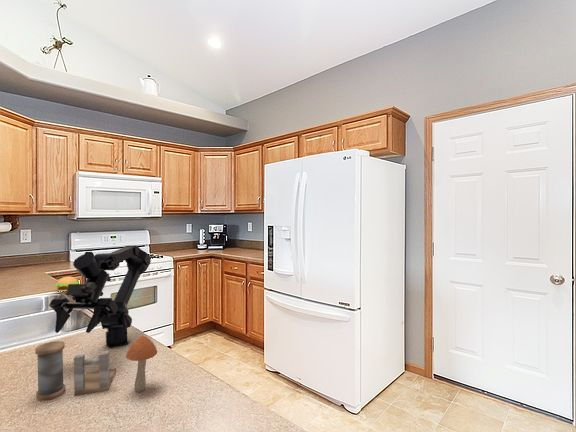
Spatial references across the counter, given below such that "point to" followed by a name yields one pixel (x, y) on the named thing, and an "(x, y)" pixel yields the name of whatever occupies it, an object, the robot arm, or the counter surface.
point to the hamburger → (65, 283)
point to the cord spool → (50, 370)
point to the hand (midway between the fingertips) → (71, 332)
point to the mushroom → (141, 358)
